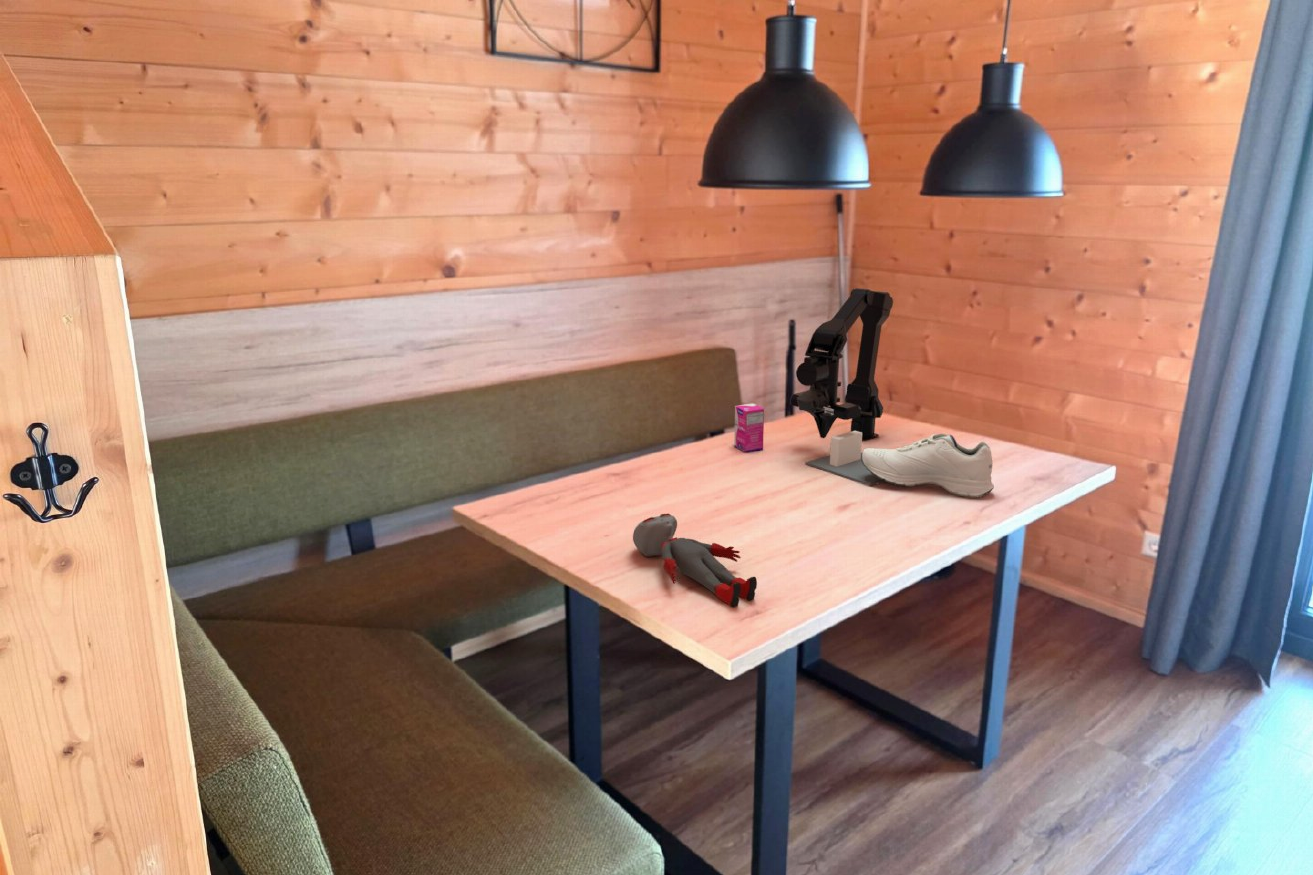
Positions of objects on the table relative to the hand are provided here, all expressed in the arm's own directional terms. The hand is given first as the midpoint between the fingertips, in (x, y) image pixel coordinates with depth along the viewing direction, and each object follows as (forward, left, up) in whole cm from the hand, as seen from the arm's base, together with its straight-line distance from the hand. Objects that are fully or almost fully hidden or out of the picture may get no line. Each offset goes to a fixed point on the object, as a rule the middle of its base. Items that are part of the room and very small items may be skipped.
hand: (822, 437), depth 233 cm
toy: (+71, +30, -6) cm, 77 cm away
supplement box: (+10, -16, -5) cm, 20 cm away
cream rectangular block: (0, +8, -4) cm, 9 cm away
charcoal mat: (0, +12, -5) cm, 13 cm away
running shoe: (-2, +30, -5) cm, 30 cm away
